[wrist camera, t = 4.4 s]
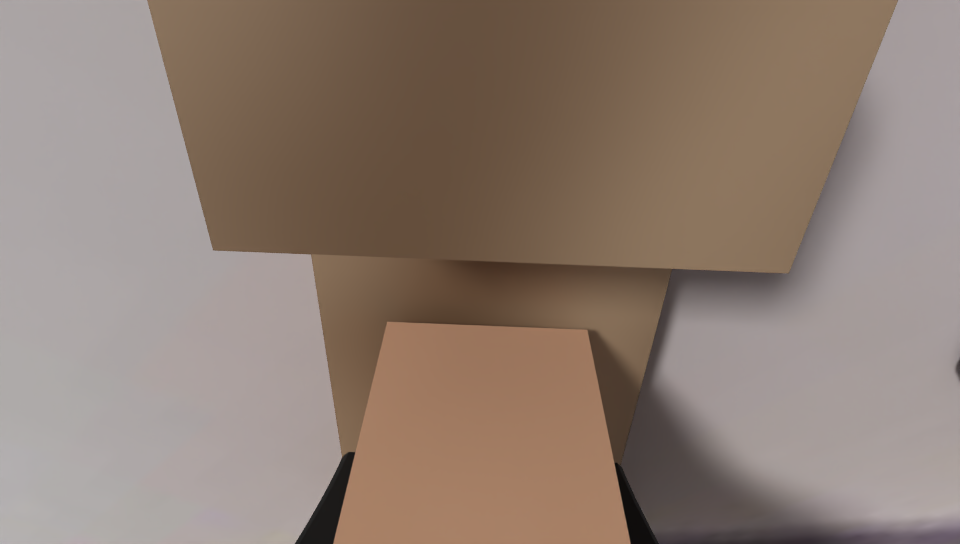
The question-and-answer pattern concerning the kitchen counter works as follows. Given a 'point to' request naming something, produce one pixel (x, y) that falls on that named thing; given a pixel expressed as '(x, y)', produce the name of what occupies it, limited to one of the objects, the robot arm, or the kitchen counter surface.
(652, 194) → the rig
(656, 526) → the kitchen counter surface
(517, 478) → the block
